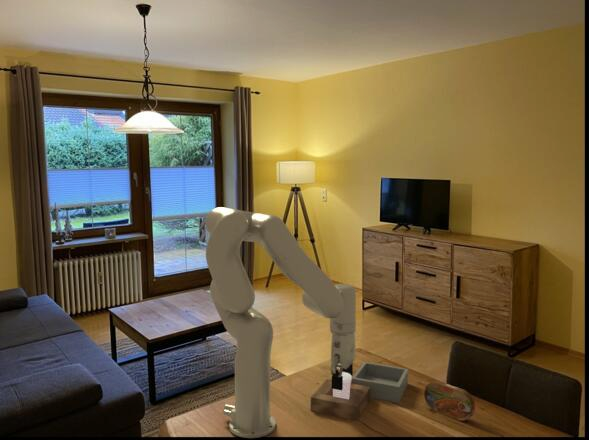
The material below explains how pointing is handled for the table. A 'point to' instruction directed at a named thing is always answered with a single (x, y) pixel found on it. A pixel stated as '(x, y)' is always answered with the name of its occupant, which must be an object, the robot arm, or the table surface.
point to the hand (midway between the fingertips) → (342, 382)
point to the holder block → (340, 401)
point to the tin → (449, 400)
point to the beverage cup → (344, 387)
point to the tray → (382, 380)
